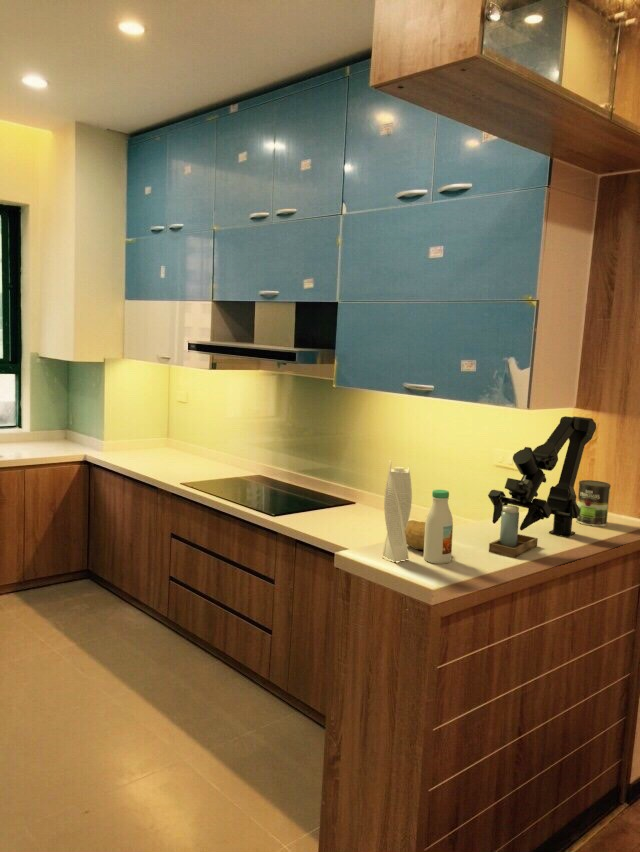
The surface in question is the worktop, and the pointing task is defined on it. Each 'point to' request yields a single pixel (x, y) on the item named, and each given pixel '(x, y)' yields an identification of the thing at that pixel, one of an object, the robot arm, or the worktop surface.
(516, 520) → the salt shaker
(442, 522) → the milk bottle
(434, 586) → the worktop surface
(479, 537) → the worktop surface
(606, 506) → the coffee can
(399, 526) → the skyscraper
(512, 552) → the caddy
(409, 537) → the potato
